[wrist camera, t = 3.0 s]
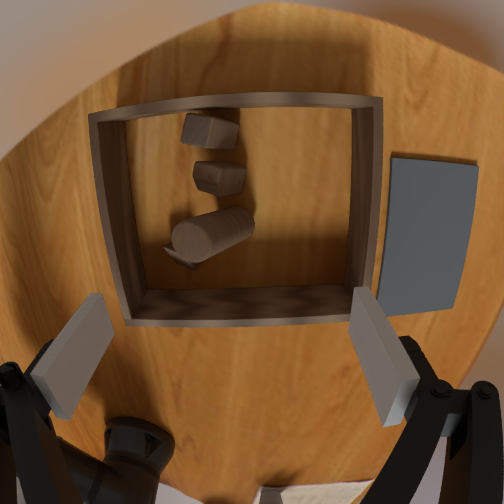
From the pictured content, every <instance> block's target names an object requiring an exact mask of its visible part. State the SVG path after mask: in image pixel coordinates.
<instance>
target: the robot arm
mask: <svg viewBox="0 0 504 504" xmlns="http://www.w3.org/2000/svg"><path fill="white" fill-rule="evenodd" d="M348 332H349V335H350V337H351V340H352V343H353V345H354V348H355V350H356V353H357V356H358V358H359V361H360V364H361V366H362V369H363V372H364V374H365V377H366V380H367V383H368V385H369V388H370V391H371V394H372V397H373V400H374V402H375V405H376V408H377V411H378V414H379V417H380V420H381V423H382V426H383V427H387V426H392V425H397V424H400V423H401V421H402V419H403V417H404V416H405V418H406V421H407V424H406V426H405V428H404V430H403V432H402V434H401V436H400V438H399V440H398V442H397V443H396V445H395V447H394V449H393V451H392V452H391V454H390V456H389V458H388V459H387V461H386V463H385V465H384V466H383V468H382V470H381V471H380V473H379V475H378V476H377V478H376V479H375V481H374V483H373V484H372V486H371V487H370V489H369V490H368V492H367V493H366V495H365V496H364V498H363V499H362V501H361V502H360V504H409V503H410V501H411V499H412V497H413V496H414V494H415V492H416V490H417V488H418V486H419V484H420V482H421V480H422V477H423V475H424V473H425V471H426V469H427V467H428V464H429V462H430V460H431V458H432V455H433V453H434V451H435V448H436V445H437V443H438V441H439V438H440V436H441V437H442V436H443V437H447V446H446V456H445V466H444V472H443V479H442V486H441V492H440V498H439V503H438V504H502V500H503V480H504V477H503V476H504V459H503V457H504V456H503V432H502V419H501V409H500V400H499V393H498V390H497V388H496V387H495V386H494V385H493V384H491V383H490V382H487V381H478V382H476V383H474V385H473V386H472V388H471V390H458V389H453V387H452V386H451V385H450V384H449V383H448V382H446V381H444V380H440V379H438V377H437V376H436V374H435V372H434V370H433V369H432V367H431V365H430V363H429V362H428V360H427V358H425V355H424V353H423V352H422V351H421V348H420V347H419V345H418V343H417V342H416V341H415V340H414V339H412V338H411V337H410V336H401V337H398V336H397V334H396V332H395V331H394V329H393V327H392V325H391V324H390V322H389V320H388V319H387V317H386V315H385V313H384V312H383V310H382V308H381V307H380V305H379V303H378V302H377V300H376V298H375V297H374V295H373V293H372V292H371V290H370V288H369V287H368V286H367V287H354V293H353V301H352V308H351V315H350V322H349V328H348ZM114 335H115V333H114V330H113V327H112V324H111V320H110V317H109V314H108V311H107V307H106V304H105V300H104V297H103V293H90V295H89V296H88V297H87V298H86V299H85V301H84V302H83V303H82V304H81V306H80V307H79V308H78V310H77V311H76V312H75V313H74V315H73V316H72V317H71V318H70V320H69V321H68V322H67V324H66V325H65V326H64V328H63V329H62V330H61V332H60V333H59V334H58V336H57V337H56V338H55V340H54V339H52V340H50V341H49V342H48V343H46V344H45V345H44V346H43V347H42V349H41V350H40V351H39V353H38V354H37V356H36V357H35V359H34V360H33V361H32V362H31V364H30V365H29V367H28V368H27V370H26V371H25V372H24V374H23V373H22V371H21V369H20V367H19V366H18V364H17V363H15V362H6V363H4V364H2V365H1V366H0V384H1V386H0V504H155V500H156V494H157V489H158V484H159V479H160V475H161V473H162V471H163V470H164V469H165V467H166V466H167V464H168V463H169V461H170V460H171V458H172V456H173V454H174V449H175V443H174V441H173V439H172V438H171V436H170V435H169V434H168V433H166V432H165V431H164V430H162V429H161V428H159V427H157V426H155V425H153V424H151V423H149V422H146V421H143V420H140V419H136V418H131V417H116V418H113V419H111V420H110V421H109V422H108V423H107V426H106V429H105V432H104V443H105V457H104V460H103V462H102V461H100V460H98V459H96V458H94V457H93V456H91V455H89V454H87V453H85V452H84V451H82V450H80V449H78V448H77V447H75V446H73V445H72V444H70V443H68V442H67V441H65V440H64V439H62V437H60V436H57V435H56V433H55V430H54V427H53V424H52V420H51V418H50V416H49V415H48V414H49V412H50V410H52V411H53V413H54V414H55V416H56V417H57V418H61V419H65V420H69V421H70V419H71V417H72V415H73V413H74V411H75V409H76V407H77V405H78V403H79V401H80V399H81V397H82V395H83V393H84V391H85V389H86V387H87V385H88V383H89V381H90V379H91V377H92V375H93V373H94V372H95V370H96V368H97V366H98V364H99V362H100V360H101V358H102V357H103V355H104V353H105V351H106V349H107V347H108V346H109V344H110V342H111V340H112V338H113V337H114ZM17 492H18V493H17Z"/></svg>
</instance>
